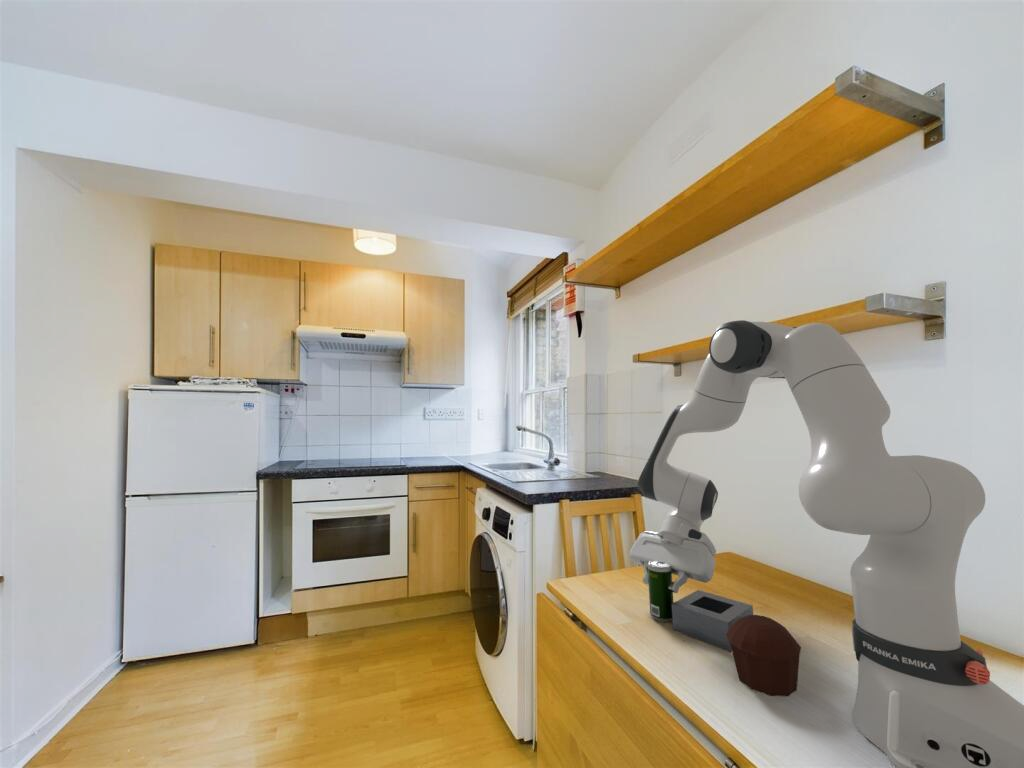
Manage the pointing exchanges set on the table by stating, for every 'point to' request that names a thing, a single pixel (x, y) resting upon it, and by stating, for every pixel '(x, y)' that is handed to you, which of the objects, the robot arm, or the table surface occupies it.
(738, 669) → the muffin
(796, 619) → the table surface
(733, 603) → the holder block
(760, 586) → the table surface
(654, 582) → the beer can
